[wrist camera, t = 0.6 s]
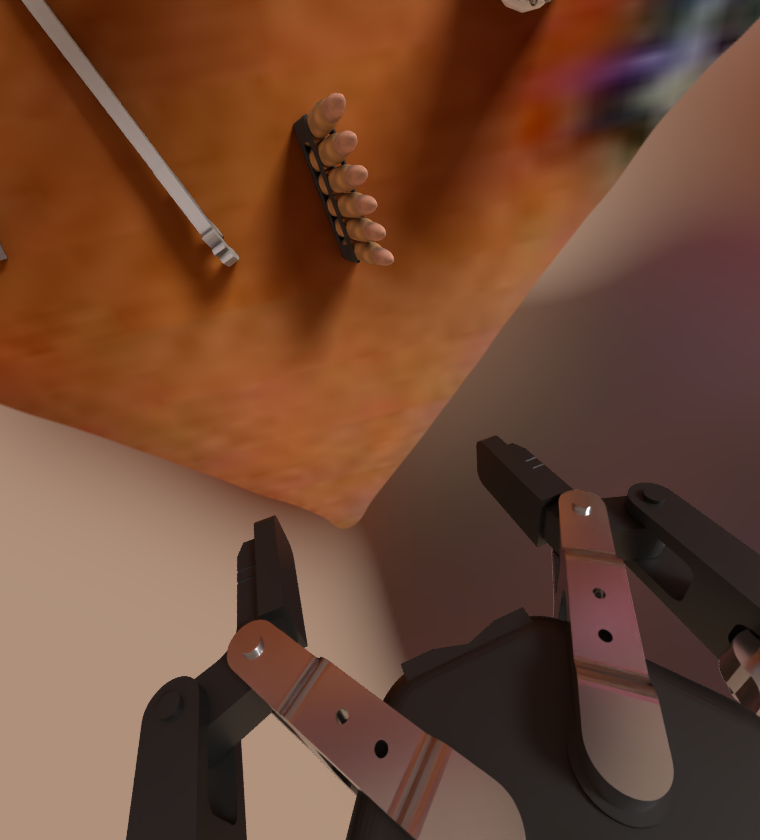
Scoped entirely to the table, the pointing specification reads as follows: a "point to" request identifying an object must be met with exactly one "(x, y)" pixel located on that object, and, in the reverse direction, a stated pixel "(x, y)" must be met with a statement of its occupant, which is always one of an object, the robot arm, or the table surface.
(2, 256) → the post board
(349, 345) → the table surface
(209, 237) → the caliper
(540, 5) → the decorative candle
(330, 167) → the ammunition clip
